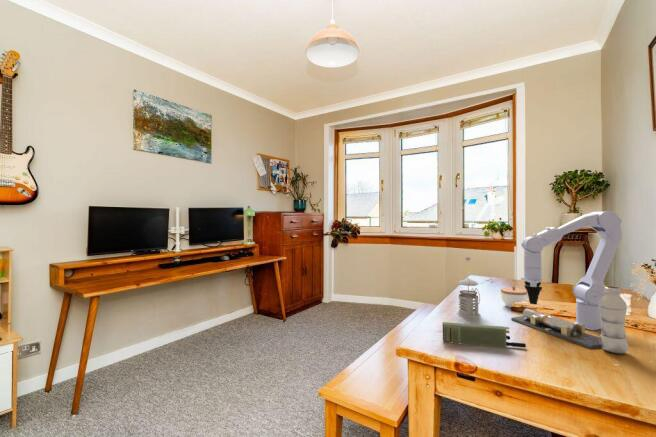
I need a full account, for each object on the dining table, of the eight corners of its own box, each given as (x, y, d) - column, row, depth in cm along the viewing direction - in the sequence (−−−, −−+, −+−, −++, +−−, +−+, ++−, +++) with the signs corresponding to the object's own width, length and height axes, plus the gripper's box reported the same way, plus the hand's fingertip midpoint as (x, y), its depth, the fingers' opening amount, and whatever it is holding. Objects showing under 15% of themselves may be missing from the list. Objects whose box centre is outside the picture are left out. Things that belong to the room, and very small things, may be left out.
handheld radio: (442, 339, 111) (524, 347, 104) (443, 343, 108) (527, 351, 101) (442, 321, 111) (524, 327, 104) (442, 324, 108) (527, 331, 100)
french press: (472, 310, 144) (471, 255, 144) (489, 318, 132) (488, 258, 132) (452, 311, 142) (451, 255, 142) (467, 320, 131) (466, 259, 131)
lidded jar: (518, 303, 154) (517, 283, 154) (532, 309, 144) (532, 288, 144) (496, 303, 154) (496, 284, 154) (509, 310, 143) (509, 289, 143)
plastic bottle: (631, 358, 94) (630, 290, 94) (601, 353, 98) (600, 288, 98) (625, 350, 100) (624, 286, 100) (597, 345, 103) (596, 284, 103)
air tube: (523, 320, 128) (521, 310, 127) (531, 316, 129) (529, 307, 129) (568, 336, 110) (566, 325, 110) (577, 332, 112) (575, 321, 111)
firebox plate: (530, 317, 133) (530, 307, 133) (612, 345, 104) (612, 332, 104) (511, 320, 130) (511, 310, 130) (590, 349, 101) (590, 336, 101)
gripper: (520, 264, 134) (521, 296, 134) (520, 269, 122) (521, 304, 122) (540, 265, 130) (541, 298, 130) (543, 270, 118) (543, 307, 118)
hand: (533, 301), depth 126 cm, fingers open, 7 cm apart
